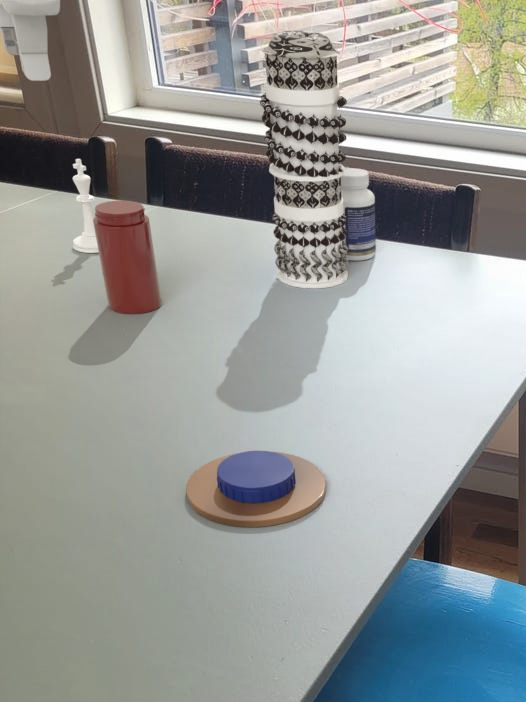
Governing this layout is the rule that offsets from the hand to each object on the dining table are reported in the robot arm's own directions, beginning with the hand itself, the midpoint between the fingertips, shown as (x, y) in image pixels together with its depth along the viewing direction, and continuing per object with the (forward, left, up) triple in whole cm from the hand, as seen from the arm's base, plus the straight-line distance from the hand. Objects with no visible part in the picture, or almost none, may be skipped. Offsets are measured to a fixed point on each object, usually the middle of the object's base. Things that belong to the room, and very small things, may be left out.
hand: (27, 65), depth 76 cm
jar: (0, +21, -26) cm, 34 cm away
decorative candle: (+19, +31, -27) cm, 45 cm away
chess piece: (-8, +40, -27) cm, 49 cm away
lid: (+16, -19, -25) cm, 35 cm away
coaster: (+16, -19, -26) cm, 36 cm away
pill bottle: (+24, +39, -27) cm, 53 cm away
